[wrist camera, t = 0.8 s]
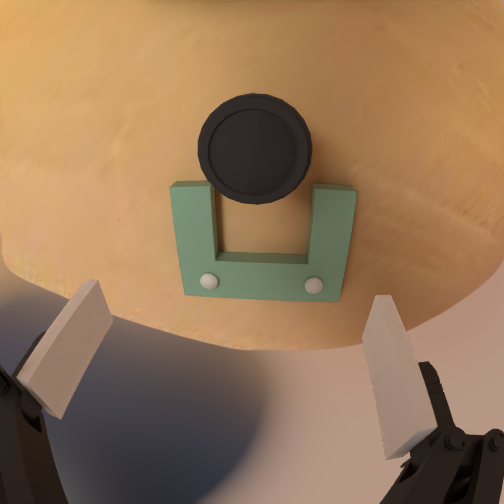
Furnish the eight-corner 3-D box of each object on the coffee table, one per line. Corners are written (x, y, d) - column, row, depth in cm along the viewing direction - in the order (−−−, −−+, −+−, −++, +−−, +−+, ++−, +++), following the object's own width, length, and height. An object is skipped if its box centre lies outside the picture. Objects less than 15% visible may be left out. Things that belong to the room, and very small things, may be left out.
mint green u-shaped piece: (176, 181, 35) (167, 188, 32) (352, 185, 33) (358, 193, 30) (189, 285, 43) (183, 297, 40) (336, 291, 41) (339, 304, 38)
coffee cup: (306, 107, 29) (329, 109, 16) (290, 173, 33) (298, 223, 20) (235, 91, 29) (202, 82, 16) (221, 158, 33) (184, 198, 20)
